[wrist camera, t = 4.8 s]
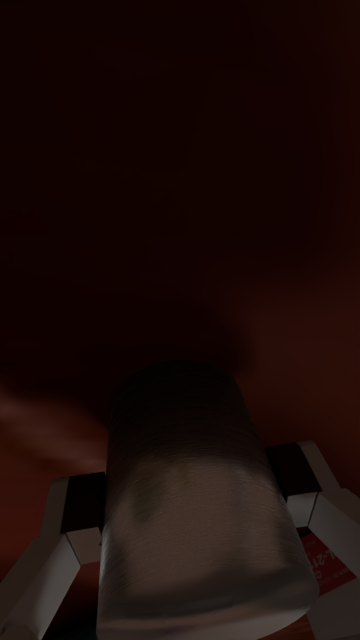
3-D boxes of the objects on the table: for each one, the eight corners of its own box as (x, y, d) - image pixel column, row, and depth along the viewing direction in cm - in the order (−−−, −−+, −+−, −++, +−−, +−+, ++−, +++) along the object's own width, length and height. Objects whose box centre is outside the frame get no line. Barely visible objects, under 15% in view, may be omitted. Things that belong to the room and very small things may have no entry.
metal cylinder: (246, 352, 11) (340, 545, 6) (239, 446, 14) (302, 634, 9) (98, 370, 11) (72, 593, 6) (120, 463, 14) (115, 671, 9)
